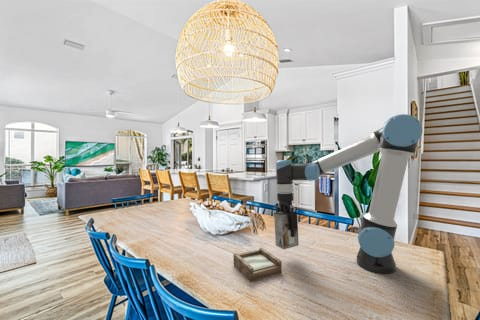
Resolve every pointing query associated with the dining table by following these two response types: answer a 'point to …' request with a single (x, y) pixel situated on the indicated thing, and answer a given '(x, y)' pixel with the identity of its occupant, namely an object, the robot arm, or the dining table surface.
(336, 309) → the dining table surface
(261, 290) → the dining table surface
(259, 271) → the wooden tray
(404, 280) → the dining table surface
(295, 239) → the coffee box
